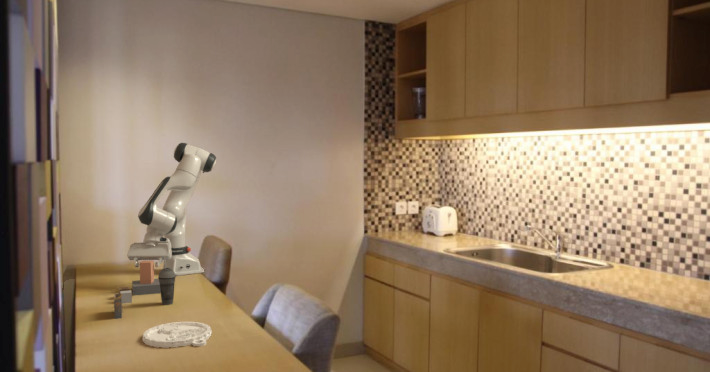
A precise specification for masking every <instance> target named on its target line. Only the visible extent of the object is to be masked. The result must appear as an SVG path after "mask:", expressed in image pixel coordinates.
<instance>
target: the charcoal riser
mask: <svg viewBox="0 0 710 372" xmlns="http://www.w3.org/2000/svg"><path fill="white" fill-rule="evenodd" d="M131 282H132V283H131V284H132V285H131V289H132V290H131V291H132V296H143V295H153V294H161V291H160V283H159V278H154V282H153V283H151V284H140V279H138V280H132V281H131Z"/></svg>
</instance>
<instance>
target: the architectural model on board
mask: <svg viewBox="0 0 710 372" xmlns="http://www.w3.org/2000/svg"><path fill="white" fill-rule="evenodd" d="M113 305H114V306H113V309H114V310H113V311H114V320H117V319H122V317H123V315H122V314H123V303H122V293H121V294H119V293H114V299H113Z"/></svg>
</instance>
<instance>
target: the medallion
mask: <svg viewBox="0 0 710 372" xmlns="http://www.w3.org/2000/svg"><path fill="white" fill-rule="evenodd" d="M212 331H213V330H212V328H211V326H210V325H208V324H207V323H204V322H197V321H190V320H189V321H177V322H176V321H175V322H168V323H163V324H157V325H155V326H152V327H150V328H148V329H146V330H144V332H143V333H142V342H144V343H145V344H144V343H143V344H144V345H146V344H147V345H146V346H148V345H150V346H149V347H152V346H154V347H153V348H159V347H162V349H170V348H169V347H176V348H179V347H178V346H184V347H187V346H186V345H190V346H192V345H193V346H192V347H195V346H200V347H203V345H204V346H206V345H207V340H208V339H210V338H211V337H210V336H212V335H211V334H212V333H213V332H212ZM209 337H210V338H209ZM191 344H192V345H191Z"/></svg>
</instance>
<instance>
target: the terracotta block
mask: <svg viewBox="0 0 710 372" xmlns="http://www.w3.org/2000/svg"><path fill="white" fill-rule="evenodd" d="M154 279H155V260H141V261H140V262H139V280H140V284H151V283H153V282H154Z"/></svg>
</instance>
